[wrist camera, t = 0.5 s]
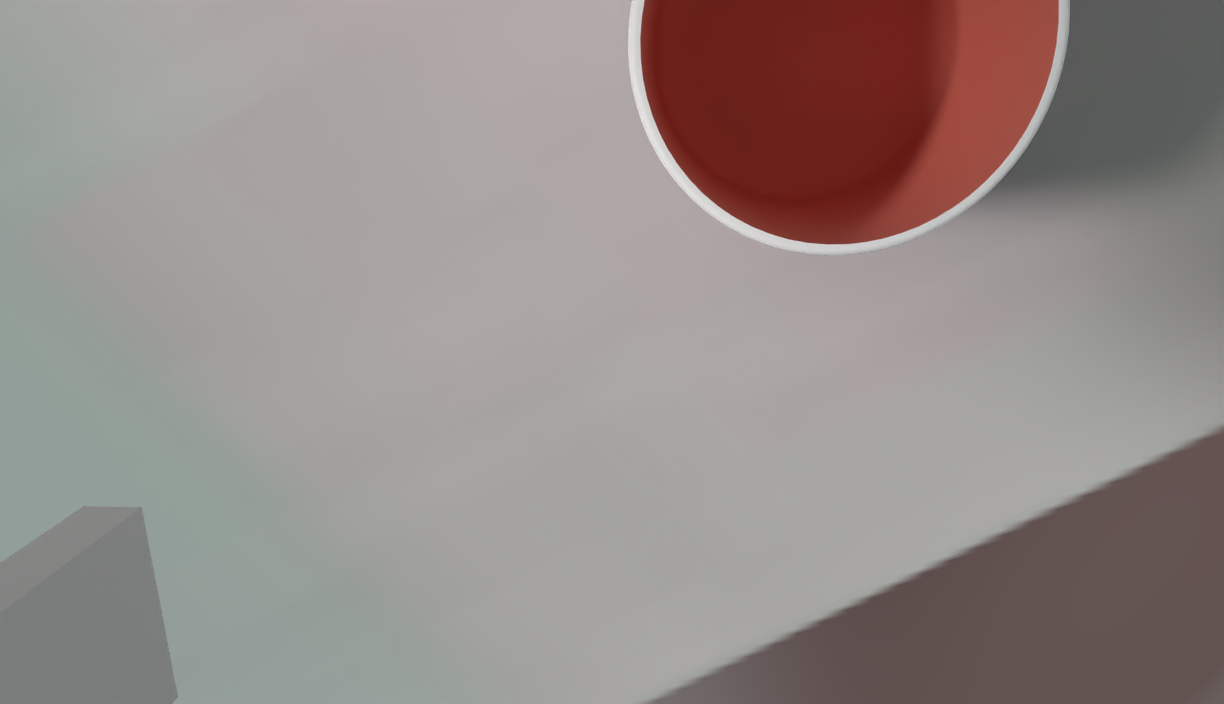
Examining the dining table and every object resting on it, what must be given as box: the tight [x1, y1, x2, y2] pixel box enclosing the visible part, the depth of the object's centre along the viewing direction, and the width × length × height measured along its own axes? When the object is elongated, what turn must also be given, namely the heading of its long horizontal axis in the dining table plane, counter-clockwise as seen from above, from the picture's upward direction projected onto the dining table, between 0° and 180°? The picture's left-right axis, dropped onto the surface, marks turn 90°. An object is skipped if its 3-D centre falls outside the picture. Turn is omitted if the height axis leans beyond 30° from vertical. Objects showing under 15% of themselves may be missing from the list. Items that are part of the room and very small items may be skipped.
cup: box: [628, 0, 1070, 255], centre depth 26 cm, size 10×10×10 cm
